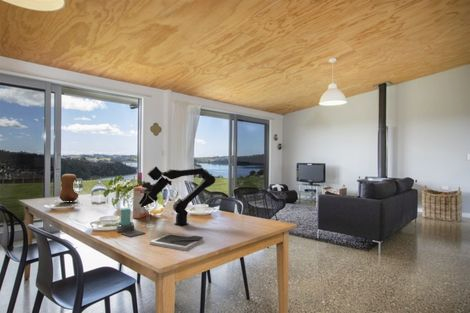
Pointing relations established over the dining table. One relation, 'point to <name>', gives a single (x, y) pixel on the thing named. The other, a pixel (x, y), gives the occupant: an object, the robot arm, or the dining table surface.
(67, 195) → the butternut squash
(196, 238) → the picture frame
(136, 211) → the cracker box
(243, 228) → the dining table surface
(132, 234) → the dark grey pad
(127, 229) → the grey holder
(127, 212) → the teal block
